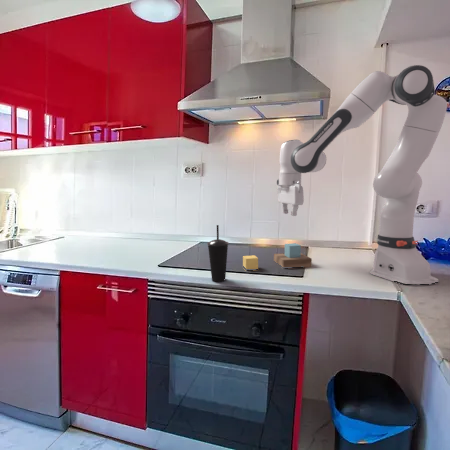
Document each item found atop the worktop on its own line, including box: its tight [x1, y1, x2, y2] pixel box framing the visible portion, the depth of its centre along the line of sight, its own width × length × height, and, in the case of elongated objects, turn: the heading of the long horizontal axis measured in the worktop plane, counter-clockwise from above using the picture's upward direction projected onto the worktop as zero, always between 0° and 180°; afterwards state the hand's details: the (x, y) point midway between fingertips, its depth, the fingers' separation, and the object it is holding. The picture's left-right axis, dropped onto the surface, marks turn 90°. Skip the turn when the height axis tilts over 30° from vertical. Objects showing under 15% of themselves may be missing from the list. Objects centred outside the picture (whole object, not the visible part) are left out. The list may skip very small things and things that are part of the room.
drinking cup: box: [206, 224, 230, 283], centre depth 114 cm, size 8×8×20 cm
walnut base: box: [273, 252, 312, 268], centre depth 135 cm, size 12×12×4 cm
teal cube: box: [284, 242, 302, 258], centre depth 134 cm, size 5×5×5 cm
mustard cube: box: [242, 254, 259, 270], centre depth 129 cm, size 5×5×5 cm
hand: (289, 214), depth 132 cm, fingers open, 8 cm apart
